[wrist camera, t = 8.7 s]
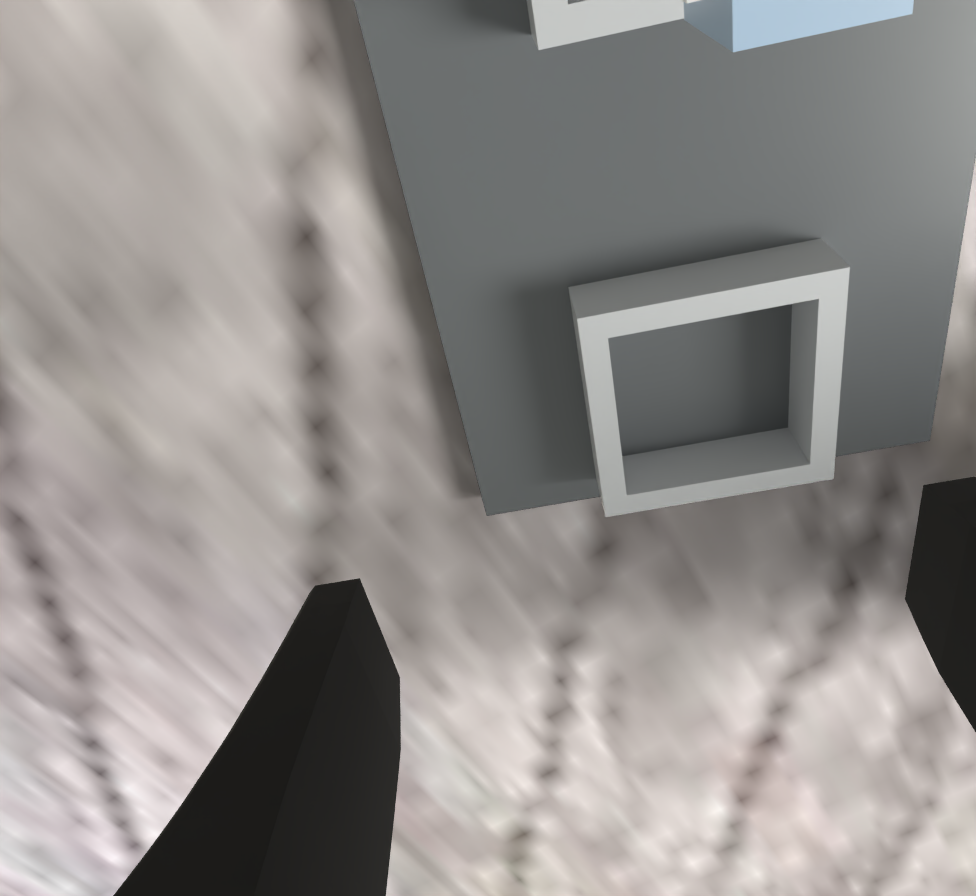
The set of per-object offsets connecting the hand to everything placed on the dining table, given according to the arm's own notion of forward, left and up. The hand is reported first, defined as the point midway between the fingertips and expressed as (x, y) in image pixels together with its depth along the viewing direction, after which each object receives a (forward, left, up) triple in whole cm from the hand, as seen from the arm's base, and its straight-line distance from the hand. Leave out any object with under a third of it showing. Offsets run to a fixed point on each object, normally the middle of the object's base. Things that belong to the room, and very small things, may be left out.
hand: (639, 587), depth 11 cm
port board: (-3, -3, -10) cm, 11 cm away
